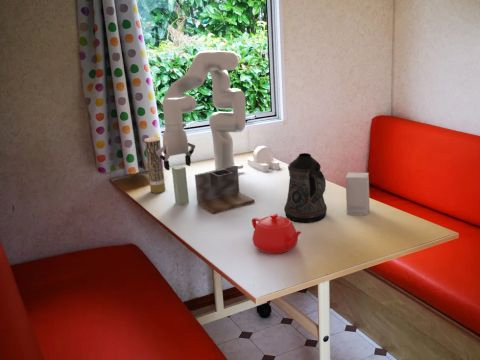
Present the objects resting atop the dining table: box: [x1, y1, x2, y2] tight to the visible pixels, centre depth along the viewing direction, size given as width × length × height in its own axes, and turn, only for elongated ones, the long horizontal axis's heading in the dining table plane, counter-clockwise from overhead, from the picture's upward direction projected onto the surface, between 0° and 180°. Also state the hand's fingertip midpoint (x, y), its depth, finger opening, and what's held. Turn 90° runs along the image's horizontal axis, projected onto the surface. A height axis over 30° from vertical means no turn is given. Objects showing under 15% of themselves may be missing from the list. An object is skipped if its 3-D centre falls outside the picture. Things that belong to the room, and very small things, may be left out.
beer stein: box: [283, 152, 328, 224], centre depth 213 cm, size 16×19×25 cm
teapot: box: [251, 213, 303, 255], centre depth 189 cm, size 25×16×12 cm, turn 38°
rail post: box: [171, 164, 190, 206], centre depth 239 cm, size 4×4×16 cm
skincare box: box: [345, 171, 370, 216], centre depth 215 cm, size 8×7×16 cm
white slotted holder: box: [247, 145, 280, 173], centre depth 284 cm, size 10×18×11 cm, turn 27°
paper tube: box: [144, 136, 166, 194], centre depth 255 cm, size 7×7×25 cm
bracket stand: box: [194, 164, 256, 215], centre depth 234 cm, size 20×14×14 cm
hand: (177, 167), depth 236 cm, fingers open, 9 cm apart
